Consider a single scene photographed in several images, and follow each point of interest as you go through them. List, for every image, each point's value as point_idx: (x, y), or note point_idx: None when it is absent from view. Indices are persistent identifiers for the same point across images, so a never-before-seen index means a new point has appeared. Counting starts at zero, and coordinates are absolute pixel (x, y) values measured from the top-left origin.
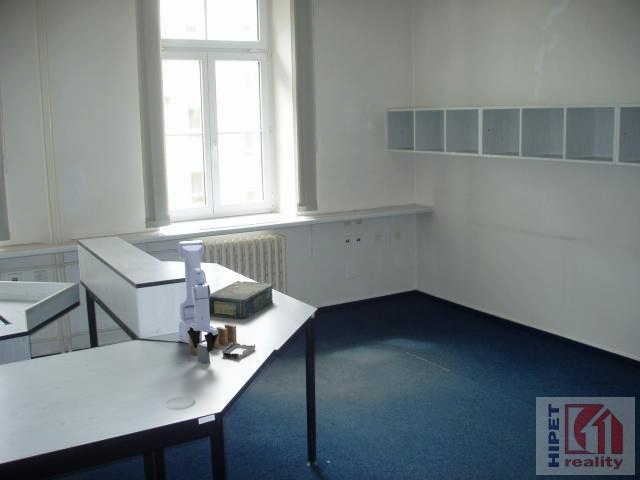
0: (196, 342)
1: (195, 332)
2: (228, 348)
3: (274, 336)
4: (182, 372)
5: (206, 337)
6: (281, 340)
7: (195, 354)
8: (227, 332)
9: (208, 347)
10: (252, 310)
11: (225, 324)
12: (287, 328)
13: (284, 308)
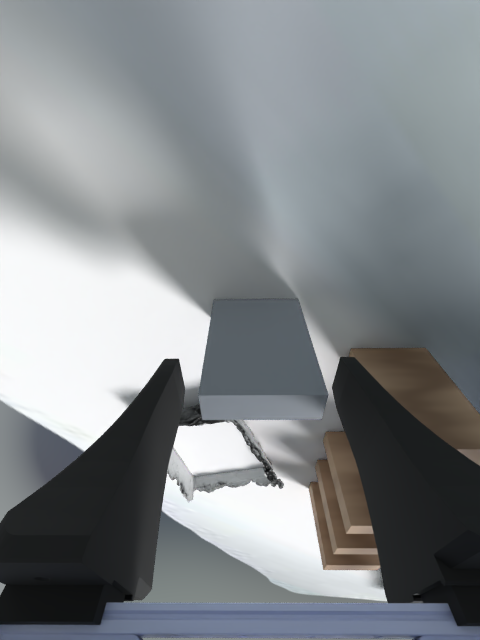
0: (353, 410)
1: (411, 539)
2: (254, 451)
3: (238, 531)
4: (217, 11)
5: (54, 517)
6: (196, 526)
7: (377, 352)
8: (328, 530)
9: (143, 388)
10: None
11: (378, 566)
12: (254, 555)
13: (349, 586)
